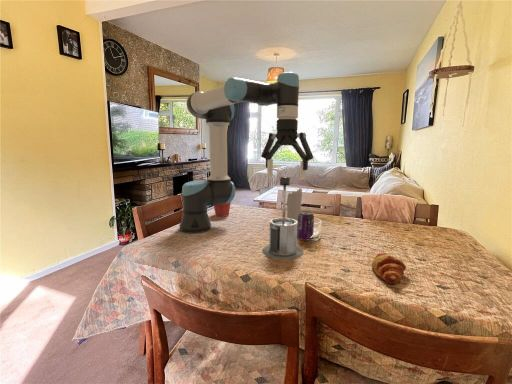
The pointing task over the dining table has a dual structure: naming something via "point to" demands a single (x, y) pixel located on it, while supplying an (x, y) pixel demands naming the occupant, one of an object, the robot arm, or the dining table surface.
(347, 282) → the dining table surface
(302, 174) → the robot arm
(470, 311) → the dining table surface
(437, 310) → the dining table surface
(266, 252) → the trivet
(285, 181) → the plunger
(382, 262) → the croissant
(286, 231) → the faceted metal cup
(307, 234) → the beverage can
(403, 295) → the dining table surface
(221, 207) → the flower pot
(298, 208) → the white tall block
